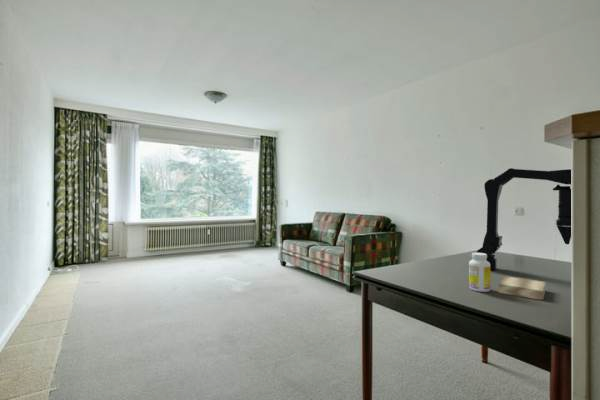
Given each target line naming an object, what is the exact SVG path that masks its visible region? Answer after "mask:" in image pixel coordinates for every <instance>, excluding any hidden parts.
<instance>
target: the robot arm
mask: <svg viewBox="0 0 600 400" xmlns="http://www.w3.org/2000/svg"><path fill="white" fill-rule="evenodd" d="M571 170H572V169H558V170H557V169H556V170H536V169H535V170H534V169H521V168H520V169H518V168H513V167H511V168H508V169H507V170H506V171H504V172H503V173H501V174H499V175H498V176H495V178H491V179H490V178H489V179H488V180H486V181H485V183H484V184H483V185H484V192H485V196H486V199H487V200H486V201H487V203H486V204H487V208H486V210H487V211H486V233H485V235H484V238H483V241H482V247H480V248H479V249H478V250H477V251H476V253H485V254H487V259H486V260H487V261H488V262H489V263H490V272H491V271H493V272H494V271H495V270H496V269H497V261H498V260H497V259H498V258H496V255H495V254H496V252H497V251H498V250H500V248H501V246H503V241H502V240H503V235H499V232H498V231H499V230H498V229H499V228H498V227H499V226H498V225H499V224H498V223H499V200H500V196H501V194H502V190H503V186H504V185H507V184H508V183H509V182H510V181H511V180H513V179H515V178H516V179H529V180H530V179H531V180H541V181H543V180H544V181H549V182H550V181H551V182H553V183H557V185H556V186H555V187H553V188H552V191H558V207H557V208H558V215H557V219H556V221H555V222H556V223H555V224H556V227H557V229H558V232H559V234H560V235H561V238H562V240H563V242H564V244H565V245H570V242H571V238H572V235H571V189H572V188H571V185H572V184H571ZM558 183H559V184H558ZM560 184H562V185H560Z"/></svg>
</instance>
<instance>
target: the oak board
mask: <svg viewBox="0 0 600 400" xmlns="http://www.w3.org/2000/svg"><path fill="white" fill-rule="evenodd" d="M546 284H547V283H546V281H540V280H534V279H533V280H532V279H528V278H527V279H525V278H520V277H513V276H512V277H511V276H504V277H503V279H502V280H501V281H500V282H499V286H498V287H499V288H498V291H499V293H500V294H504V295H510V296H515V297H523V298H528V299H529V298H530V299H534V300H541V301H544V298H545V293H546V290H547V289H546V288H547V286H546Z"/></svg>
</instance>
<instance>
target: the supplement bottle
mask: <svg viewBox="0 0 600 400" xmlns="http://www.w3.org/2000/svg"><path fill="white" fill-rule="evenodd" d="M486 259H487V254H485V253H477V252H472V253H471V259H470V260H469V262H468V274H469V275H468V281H469V283H468V285H469V286H468V287H469V289H470V290H472V291H475V292H479V293H487V292H490V291H491V290H492V289H491V284H492V283H491V270H490V263H489V262H488V261H487V260H486Z"/></svg>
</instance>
